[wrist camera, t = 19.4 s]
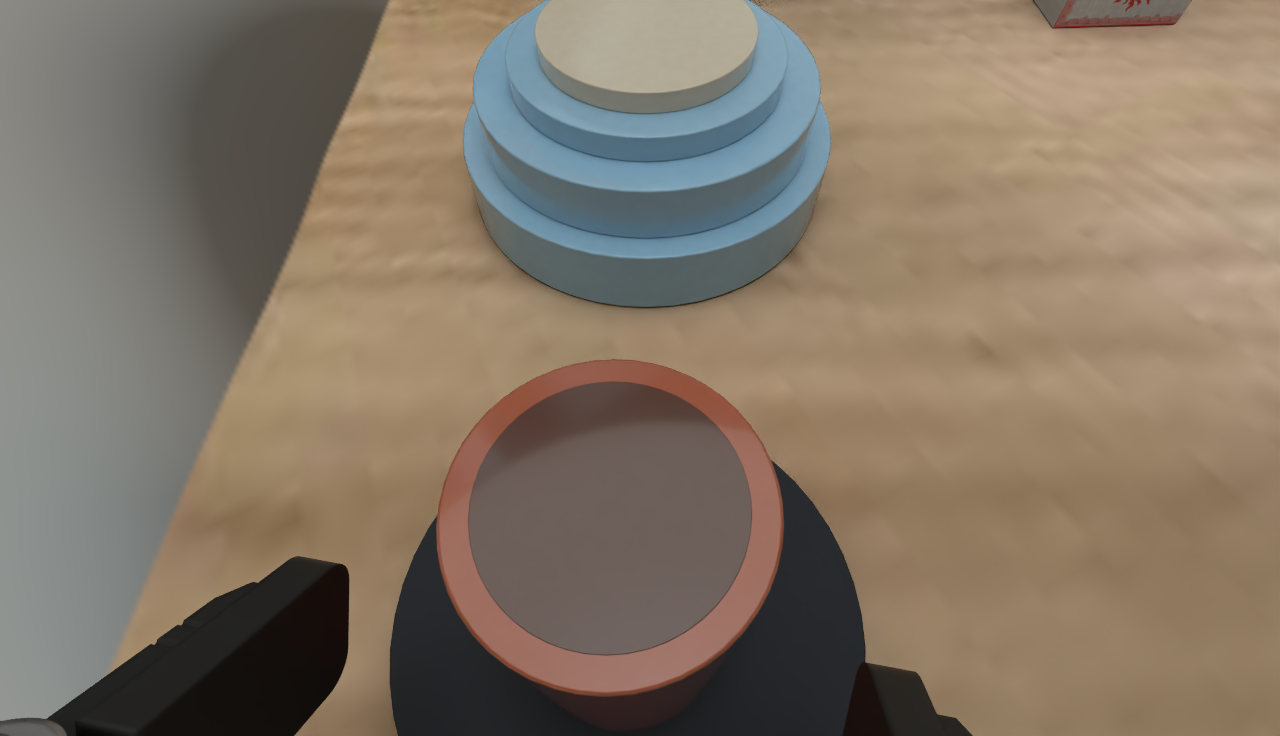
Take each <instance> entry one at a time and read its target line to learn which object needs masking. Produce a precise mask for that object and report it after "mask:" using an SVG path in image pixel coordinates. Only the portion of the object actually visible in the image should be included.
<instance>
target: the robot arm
mask: <svg viewBox="0 0 1280 736" xmlns="http://www.w3.org/2000/svg"><path fill="white" fill-rule="evenodd" d="M348 626H349V573H348V570H347V568H346V566H344V565H343V564H338V563H333V562H327V561H322V560H317V559H311V558H306V557H300V556H296V557H293V558H291V559H289V560H288V561H287V562H285V563H284V564H283V565H281V566H280V567H279V568H277V569H276V570H275V571H273V572H272V573H271V574H269V575H268V576H267V577H265V578H264V579H263V580H261V581H260V582H259V583H255V582H252V583H249V584H247V585H245V586H242V587H240V588H238V589H235V590H233V591H230V592H228V593H226V594H223V595H221V596H219V597H216V598H214V599H213V600H211V601H210V602H209V603H207V604H206V605H205V606H203V607H202V608H200V609H199V610H198V611H196V612H195V613H193V614H192V615H191V616H189V617H188V618H186V619H185V620H184V622H183V624H182V625H181V626H180V625H177V626H175V627H174V628H172V629H171V630H170V631H168V632H167V633H165V634H164V635H163V636H161V637H160V638H158V639H157V643H156V644H155V645H152V644H150V645H149V646H147V647H146V648H145V649H143V650H142V651H140V652H139V653H138V654H136V655H135V656H133V657H132V658H131V659H129V660H128V661H126V662H125V663H124V664H122V665H121V666H119V667H118V668H117V669H115V670H114V671H112V672H111V673H110V674H108V675H107V676H106V677H104V678H103V679H101V680H100V681H99V682H97V683H96V684H95V685H93V686H92V687H90V688H89V689H87V690H86V691H85V692H83V693H82V694H81V695H79V696H78V697H76V698H75V699H73V700H72V701H71V702H69V703H68V704H66V705H65V706H64V707H62V708H61V709H59V710H58V711H57V712H55V713H54V714H53V715H51V716H50V717H48V718H47V719H41V718H20V719H11V720H6V721H0V736H294V735H295V734H296V733H297V732H298V731H299V729H300V728H301V727H302V726H303V725H304V724H305V722H306V721H307V720H308V719H309V718H310V717H311V715H312V714H313V713H314V712H315V711H316V709H317V708H318V707H319V706H320V705H321V704H322V702H323V701H324V700H325V699H326V698H327V697H328V695H329V694H330V693H331V692H332V690H333V689H334V687H335V686H336V684H337V682H338V680H339V678H340V676H341V674H342V671H343V669H344V666H345V663H346V659H347V653H348ZM842 736H972V735H971V734H970V733H969V731H968V730H967V729H966V728H965V727H964V726H963V725H962V724H961V723H960V722H959V721H958V720H957V719H956V718H953V717H948V716H942V715H937V714H936V711H935V709H934V707H933V705H932V702H931V700H930V698H929V696H928V693H927V691H926V689H925V686H924V684H923V682H922V680H921V678H920V676H919V675H918V674H917V673H916V672H913V671H908V670H902V669H897V668H892V667H886V666H881V665H875V664H870V663H865V662H863V663H861V664H860V666H859V668H858V670H857V673H856V677H855V681H854V686H853V690H852V695H851V699H850V704H849V708H848V712H847V717H846V721H845V726H844V730H843V735H842Z"/></svg>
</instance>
